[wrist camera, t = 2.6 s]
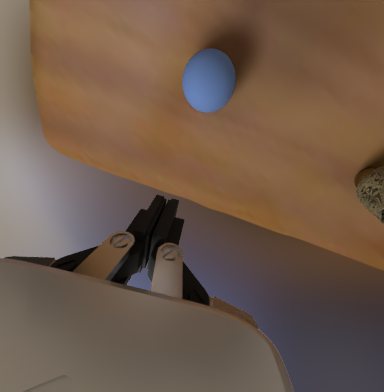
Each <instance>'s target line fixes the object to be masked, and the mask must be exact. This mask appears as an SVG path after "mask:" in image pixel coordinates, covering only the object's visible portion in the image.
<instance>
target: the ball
mask: <svg viewBox="0 0 384 392" xmlns="http://www.w3.org/2000/svg"><path fill="white" fill-rule="evenodd" d="M235 82H236V75H235V69H234V66H233V64H232V62H231V60H230V59H229V57H228V56H227V55H226V54H225V53H223V52H222V51H220V50H217V49H213V48H208V49H204V50H201V51H199V52H197V53H196V54H195V55H194V56H193V57H192V58H191V59H190V60H189V62H188V63H187V65H186V67H185V70H184V73H183V80H182V85H183V91H184V94H185V97H186V99H187V101H188V102H189V103H190V105H191V106H192V107H193V108H195V109H196V110H198V111H201V112H206V113H209V112H214V111H217V110H219V109H221V108H222V107H223V106H224V105H225V104H226V103H227V102H228V101H229V99H230V98H231V96H232V94H233V91H234V88H235Z"/></svg>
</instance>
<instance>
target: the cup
mask: <svg viewBox="0 0 384 392" xmlns="http://www.w3.org/2000/svg"><path fill="white" fill-rule="evenodd" d="M354 183H355V186H356V188H357V196H358V199H359V200H360V202H361V203H362V204H363V205H364V206H365V207H366V208H367V209H368V210H369V211H370V212H371V213H372V214H373V215H375V216H376V217H377V218H378V219H379V220H380V221H381V222H382V223H383V224H384V166H382V167H378V168H377V167H375V168H368V169H365V170H363V171H361V172H360V173H359V174H358V175H357V176H356V178H355V181H354Z"/></svg>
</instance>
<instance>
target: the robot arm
mask: <svg viewBox="0 0 384 392" xmlns="http://www.w3.org/2000/svg"><path fill="white" fill-rule="evenodd" d="M178 203H179V200H176V199H171V200H168V202H167V204H166V199H164V196H160V195H156V197H155V199H154V200H153V202H152V203H151V205H150V206H149V208H148V210H144V209H141V210H140V211H139V213H138V214H137V216H136V217H135V218H134V220H133V221H132V223H131V224H130V226H129V227H128V229H127V230H126V231H120V232H116V233H114V234H112V235H110V236H109V237H108V238H107V239H106V240H105V241H104V242H103V243H102V244H101V245H100V246H97V247H94V248H90V249H87V250H84V251H81V252H78V253H74V254H71V255H68V256H65V257H63V258H60V259H58V260H55V258H48V257H19V256H12V257H5V258H0V392H294V391H293V387H292V384H291V381H290V379H289V376H288V373H287V370H286V368H285V365H284V363H283V361H282V358H281V356H280V354H279V352H278V351H277V349H276V347H275V346H274V345H273V343H272V342H271V341H270V340H269V339H268V338H267V337H266V336H265V335H264V334H263V333H262V332H261V331H260V330H259V329H258V325H257V323H256V321H255V320H254V319H253V317H252V316H251V315H249V314H248V313H246V312H244V311H242V310H240V309H238V308H236V307H234V306H232V305H230V304H228V303H226V302H224V301H222V300H220V299H218V298H216V297H214V298H212V297H210V296H208V294H207V292H206V291H205V289H204V288H203V287H202V285H201V284H200V283H199V281H198V280H197V279H196V278H195V276H194V275H193V274H192V272H191V271H190V270H189V268H188V267H187V266H186V265H185V264H184V262H183V253H182V250H181V248H180V247H179V246H178V244H179V240H180V236H181V232H182V227H183V224H184V220H183V219H180V218H176V217H175V216H176V212H177V207H178ZM148 260H149V262H148ZM147 263H148V276H149V278H150V280H151V282H152V284H151V290H150V291H148V290H144V289H140V288H136V287H132V286H127V284H128V282H129V281H130V279H131V277H132V275H133V274H135V273H137V272H141V269H142V268H145V267H146V265H147Z"/></svg>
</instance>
